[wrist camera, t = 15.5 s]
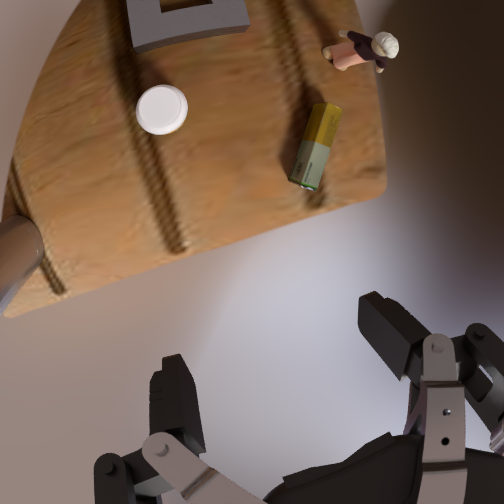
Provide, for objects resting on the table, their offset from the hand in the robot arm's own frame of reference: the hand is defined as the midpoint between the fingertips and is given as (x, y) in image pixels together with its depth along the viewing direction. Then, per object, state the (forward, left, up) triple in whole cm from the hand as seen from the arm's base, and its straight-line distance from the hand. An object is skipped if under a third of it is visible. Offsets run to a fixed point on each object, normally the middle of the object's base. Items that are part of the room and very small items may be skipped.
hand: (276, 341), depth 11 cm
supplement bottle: (-3, +12, -28) cm, 31 cm away
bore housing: (+2, +28, -28) cm, 40 cm away
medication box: (+15, +4, -28) cm, 32 cm away
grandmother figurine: (+22, +16, -28) cm, 39 cm away
